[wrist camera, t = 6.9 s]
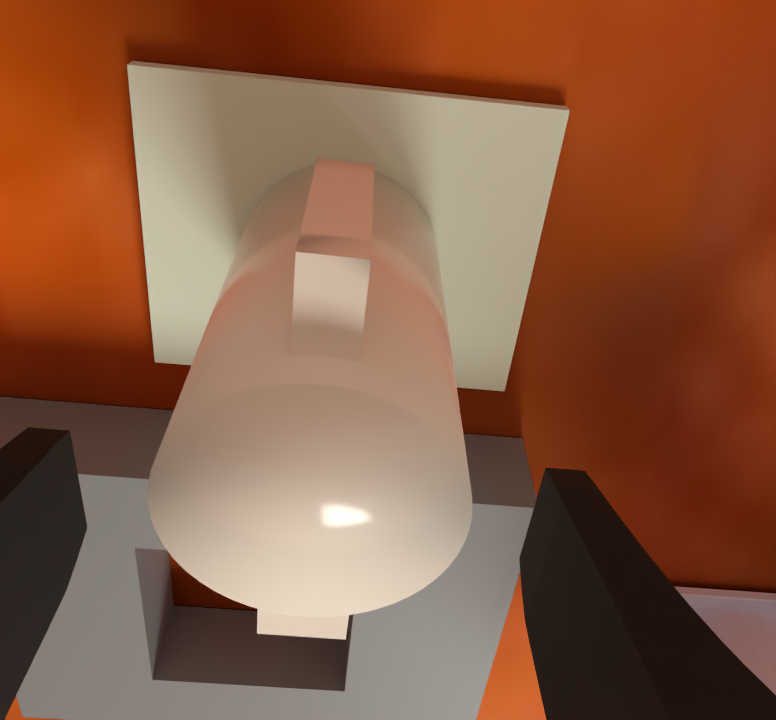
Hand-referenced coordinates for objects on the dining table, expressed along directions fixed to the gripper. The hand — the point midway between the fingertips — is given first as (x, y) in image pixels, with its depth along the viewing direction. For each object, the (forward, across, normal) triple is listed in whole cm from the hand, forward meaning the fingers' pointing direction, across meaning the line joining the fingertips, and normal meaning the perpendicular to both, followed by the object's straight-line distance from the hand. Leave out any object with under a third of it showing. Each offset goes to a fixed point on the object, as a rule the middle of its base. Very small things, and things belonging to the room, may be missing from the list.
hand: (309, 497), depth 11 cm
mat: (+9, 0, 0) cm, 9 cm away
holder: (+9, +2, +12) cm, 15 cm away
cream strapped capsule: (+9, 0, 0) cm, 9 cm away
